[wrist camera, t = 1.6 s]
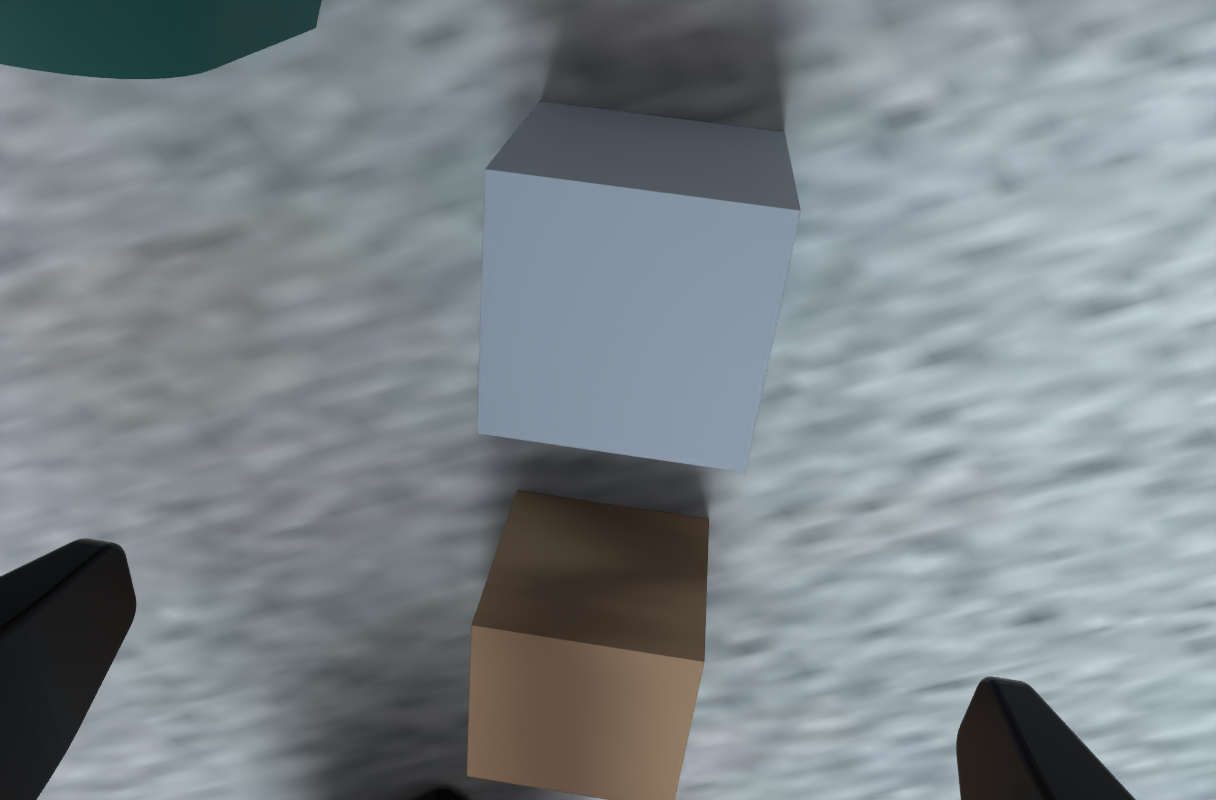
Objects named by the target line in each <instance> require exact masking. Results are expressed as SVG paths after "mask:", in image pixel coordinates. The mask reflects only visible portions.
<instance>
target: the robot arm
mask: <svg viewBox="0 0 1216 800" xmlns="http://www.w3.org/2000/svg"><path fill="white" fill-rule="evenodd" d="M135 612H136V596H135V592H134V588H133V584H132V579H131V575H130V571H129V567H128V562H127V558H126V554H125V552H124V550H123V549H122V547H121V546H120V545H118V544H116V543H112V542H106V541H99V540H92V539H79V540H76V541H73V542H71V543H69V544H67V545H65V546H62V547H60V548H58V549H56V550H54V551H52V552H50V553H48V554H46V555H44V556H42V557H40V558H38V559H36V560H34V561H32V562H29V563H27V564H25V565H23V566H21V567H19V568H17V569H15V570H13V571H11V572H9V573H7V574H5V575H3V576H1V577H0V800H37V798H38V797H39V795H40V793H41V792H42V790H43V789H44V787H45V786H46V784H47V783H48V781H49V779H50V778H51V776H52V775H53V773H54V771H55V770H56V768H57V767H58V765H59V763H60V762H61V760H62V758H63V757H64V755H65V753H66V752H67V750H68V748H69V746H70V744H71V743H72V741H73V739H74V737H75V735H76V733H77V731H78V730H79V728H80V726H81V724H82V722H83V720H84V718H85V716H86V714H87V712H88V710H89V708H90V706H91V704H92V702H93V700H94V698H95V696H96V694H97V692H98V690H99V688H100V686H101V684H102V682H103V680H104V678H105V676H106V674H107V672H108V670H109V668H110V666H111V664H112V662H113V660H114V658H115V656H116V654H117V652H118V650H119V648H120V646H121V644H122V642H123V640H124V638H125V636H126V634H127V632H128V631H129V629H130V627H131V624H132V622H133V619H134V616H135ZM956 754H957V764H958V775H959V785H960V795H961V800H1136V799H1135V798H1134V797H1133V796H1132V795H1131V794H1130V793H1129V792H1128V791H1127V790H1126V789H1125V787H1124V786H1123V785H1122V784H1121V783H1120V782H1119V781H1118V780H1117V779H1116V778H1115V777H1114V776H1113V774H1112V773H1111V772H1110V771H1109V770H1108V769H1107V768H1106V767H1105V766H1104V765H1103V764H1102V763H1101V761H1100V760H1099V759H1098V758H1097V757H1096V756H1095V755H1094V754H1093V753H1092V752H1091V751H1090V750H1089V748H1088V747H1087V746H1086V745H1085V744H1084V743H1083V742H1082V741H1081V740H1080V739H1079V738H1078V737H1077V735H1076V734H1075V733H1074V732H1073V731H1072V730H1071V729H1070V728H1069V727H1068V726H1067V725H1066V724H1065V722H1064V721H1063V720H1062V719H1061V718H1060V717H1059V716H1058V715H1057V714H1056V713H1055V712H1054V711H1053V710H1052V708H1051V707H1050V706H1049V705H1048V704H1047V703H1046V702H1045V701H1044V700H1043V699H1042V698H1041V697H1040V695H1039V694H1038V693H1037V692H1036V691H1035V690H1034V689H1033V688H1032V687H1031V686H1029V685H1028V684H1027V683H1025V682H1022V681H1017V680H1011V679H1004V678H998V677H986V678H984V679H982V680H981V681H980V683H979V685H978V686H977V688H976V691H975V693H974V695H973V698H972V700H971V702H970V704H969V707H968V709H967V711H966V714H965V716H964V718H963V720H962V723H961V725H960V728H959V730H958V735H957V742H956ZM415 800H463V799H462V798H461V797H460V796H458V795H457V794H456V793H454V792H453V791H451V790H447V789H437V790H434V791H432V792H430V793H428V794H425V795H423V796H421V797H419V798H417V799H415Z"/></svg>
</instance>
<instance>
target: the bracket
mask: <svg viewBox="0 0 1216 800" xmlns="http://www.w3.org/2000/svg"><path fill="white" fill-rule="evenodd" d="M320 5H321V0H0V64H4V65H9V66H15V67H21V68H27V69H33V70H39V71H46V72H53V73H61V74H68V75H78V76H88V77H99V78H117V79H159V78H173V77H182V76H188V75H193V74H198V73H202V72H206V71H209V70H212V69H215V68H217V67H220V66H222V65H225V64H227V63H230V62H232V61H235V60H237V59H239V58H242V57H244V56H247V55H249V54H252V53H254V52H257V51H259V50H262V49H264V48H267V47H269V46H272V45H274V44H277V43H279V42H282V41H284V40H287V39H289V38H292V37H294V36H297V35H299V34H302V33H304V32H307V31H309V30H312V29H314V28H316V24H317V19H318V14H319V10H320Z"/></svg>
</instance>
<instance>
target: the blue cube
mask: <svg viewBox="0 0 1216 800" xmlns="http://www.w3.org/2000/svg"><path fill="white" fill-rule="evenodd" d="M799 216H800V206H799V201H798V196H797V191H796V186H795V181H794V176H793V171H792V166H791V161H790V156H789V151H788V147H787V142H786V137H785V132H780V131H772V130H764V129H756V128H748V127H741V126H733V125H725V124H717V123H709V122H701V121H693V120H685V119H678V118H670V117H662V116H654V115H646V114H638V113H630V112H622V111H615V110H607V109H599V108H591V107H583V106H575V105H567V104H559V103H552V102H544V101H540V102H539V103H538V104H537V106H536V107H535V108H534V109H533V111H532V112H531V113H530V114H529V116H528V117H527V118H526V119H525V120H524V122H523V123H522V124H521V125H520V127H519V128H518V129H517V130H516V132H515V133H514V134H513V135H512V136H511V138H510V139H509V140H508V141H507V143H506V144H505V145H504V146H503V148H502V149H501V150H500V151H499V152H498V154H497V155H496V156H495V157H494V159H493V160H492V161H491V162H490V163H489V165H488V166H487V167H486V168H485V182H484V217H483V251H482V286H481V320H480V355H479V390H478V424H477V433H478V434H485V435H492V436H499V437H506V438H512V439H519V440H526V441H533V442H540V443H547V444H553V445H560V446H567V447H574V448H581V449H588V450H594V451H601V452H608V453H615V454H622V455H629V456H635V457H642V458H649V459H656V460H663V461H670V462H676V463H683V464H690V465H697V466H704V467H711V468H717V469H724V470H731V471H738V472H745V470H746V465H747V460H748V456H749V451H750V446H751V441H752V437H753V432H754V427H755V423H756V418H757V413H758V409H759V404H760V399H761V394H762V390H763V385H764V380H765V376H766V371H767V366H768V361H769V357H770V352H771V347H772V343H773V338H774V333H775V329H776V324H777V319H778V314H779V310H780V305H781V300H782V296H783V291H784V286H785V281H786V277H787V272H788V267H789V263H790V258H791V253H792V249H793V244H794V239H795V234H796V230H797V225H798V220H799Z"/></svg>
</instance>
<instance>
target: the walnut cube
mask: <svg viewBox="0 0 1216 800" xmlns="http://www.w3.org/2000/svg"><path fill="white" fill-rule="evenodd" d="M708 534H709V519H706V518H699V517H692V516H686V515H679V514H672V513H665V512H659V511H652V510H645V509H639V508H632V507H625V506H619V505H612V504H605V503H599V502H592V501H585V500H579V499H572V498H565V497H558V496H552V495H545V494H538V493H532V492H525V491H518V490H517V493H516V496H515V499H514V502H513V505H512V508H511V511H510V514H509V517H508V520H507V523H506V525H505V528H504V531H503V534H502V537H501V540H500V543H499V546H498V549H497V552H496V555H495V558H494V561H493V564H492V567H491V570H490V572H489V575H488V578H487V581H486V584H485V587H484V590H483V593H482V596H481V599H480V602H479V605H478V608H477V611H476V614H475V617H474V620H473V622H472V626H471V659H470V691H469V724H468V756H467V776H469V777H475V778H481V779H487V780H493V781H499V782H505V783H511V784H517V785H523V786H529V787H535V788H541V789H547V790H553V791H559V792H565V793H571V794H577V795H583V796H589V797H595V798H601V799H607V800H675V796H676V791H677V787H678V782H679V777H680V773H681V768H682V764H683V759H684V754H685V750H686V745H687V740H688V736H689V731H690V726H691V722H692V717H693V712H694V708H695V703H696V698H697V694H698V689H699V685H700V680H701V675H702V671H703V666H704V657H705V626H706V596H707V565H708Z"/></svg>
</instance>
